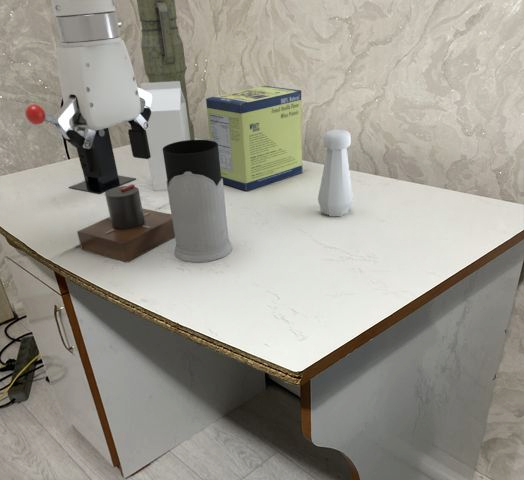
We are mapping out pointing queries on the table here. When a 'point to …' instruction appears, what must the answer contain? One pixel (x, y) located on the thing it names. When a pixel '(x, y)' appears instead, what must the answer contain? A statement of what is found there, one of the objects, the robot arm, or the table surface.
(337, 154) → the salt shaker
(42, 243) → the table surface
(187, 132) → the milk carton
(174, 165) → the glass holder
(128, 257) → the dial panel
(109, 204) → the dial
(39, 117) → the lever
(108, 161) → the lever bracket
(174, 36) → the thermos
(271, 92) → the protein box
